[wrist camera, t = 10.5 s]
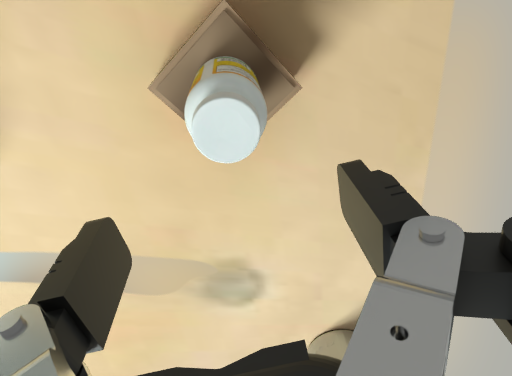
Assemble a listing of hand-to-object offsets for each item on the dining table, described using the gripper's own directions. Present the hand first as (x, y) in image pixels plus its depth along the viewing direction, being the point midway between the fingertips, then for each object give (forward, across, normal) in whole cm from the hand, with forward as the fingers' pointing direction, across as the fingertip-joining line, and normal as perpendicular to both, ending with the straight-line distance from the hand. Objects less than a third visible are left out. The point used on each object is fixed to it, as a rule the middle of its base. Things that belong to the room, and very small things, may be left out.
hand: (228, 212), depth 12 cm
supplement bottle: (+18, 0, 0) cm, 18 cm away
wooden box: (+22, 0, 0) cm, 22 cm away
